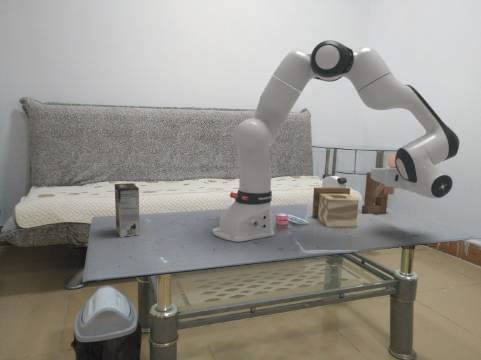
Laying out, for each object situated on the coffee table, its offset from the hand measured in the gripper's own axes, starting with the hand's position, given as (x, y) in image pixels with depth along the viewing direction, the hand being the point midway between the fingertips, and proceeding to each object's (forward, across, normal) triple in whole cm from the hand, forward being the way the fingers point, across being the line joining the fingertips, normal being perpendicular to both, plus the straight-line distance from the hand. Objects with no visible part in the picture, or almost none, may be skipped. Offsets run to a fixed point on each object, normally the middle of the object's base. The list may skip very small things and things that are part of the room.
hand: (390, 171), depth 134 cm
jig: (-1, +18, +21) cm, 28 cm away
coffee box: (-4, +93, +22) cm, 96 cm away
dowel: (-1, 0, +8) cm, 8 cm away
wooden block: (+20, -6, +21) cm, 30 cm away
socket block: (+3, +18, +20) cm, 27 cm away
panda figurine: (+28, +10, +22) cm, 37 cm away
